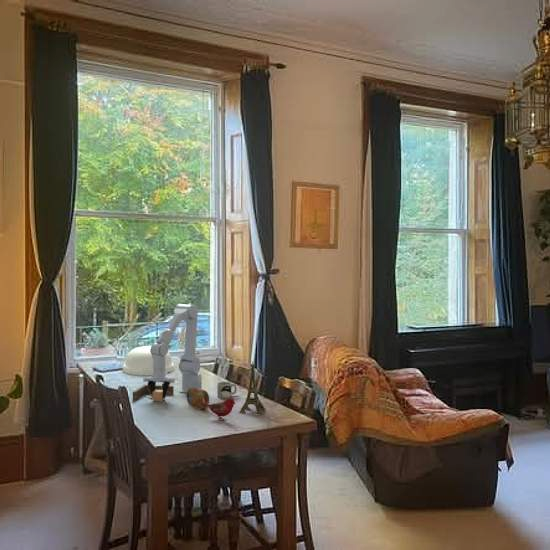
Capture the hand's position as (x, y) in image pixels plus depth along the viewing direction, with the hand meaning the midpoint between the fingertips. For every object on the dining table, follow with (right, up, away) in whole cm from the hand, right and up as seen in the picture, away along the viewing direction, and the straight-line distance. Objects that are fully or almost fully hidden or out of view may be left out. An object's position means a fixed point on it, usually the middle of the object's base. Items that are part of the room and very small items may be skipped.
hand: (158, 397), depth 261 cm
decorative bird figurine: (+31, -3, -29) cm, 42 cm away
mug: (+31, -2, +9) cm, 33 cm away
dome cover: (-20, +1, +69) cm, 72 cm away
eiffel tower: (+44, -3, -16) cm, 47 cm away
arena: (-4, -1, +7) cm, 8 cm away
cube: (0, -1, 0) cm, 1 cm away
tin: (+20, -2, -10) cm, 23 cm away
